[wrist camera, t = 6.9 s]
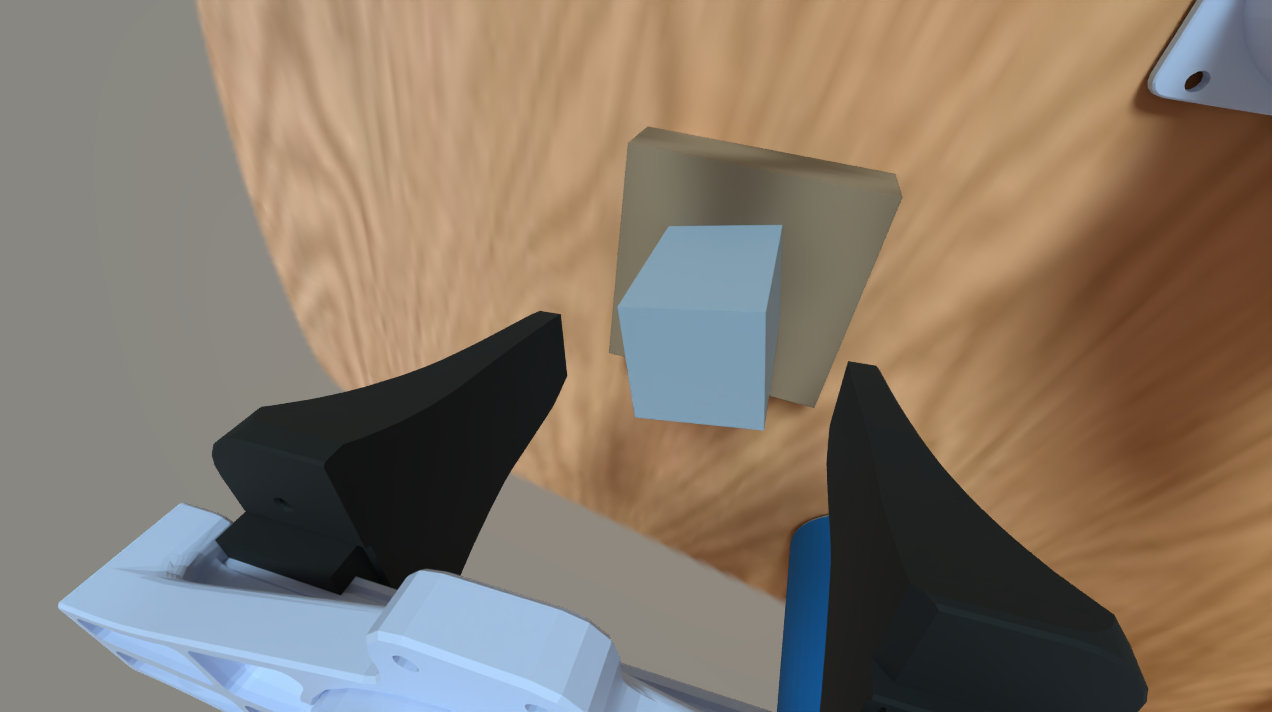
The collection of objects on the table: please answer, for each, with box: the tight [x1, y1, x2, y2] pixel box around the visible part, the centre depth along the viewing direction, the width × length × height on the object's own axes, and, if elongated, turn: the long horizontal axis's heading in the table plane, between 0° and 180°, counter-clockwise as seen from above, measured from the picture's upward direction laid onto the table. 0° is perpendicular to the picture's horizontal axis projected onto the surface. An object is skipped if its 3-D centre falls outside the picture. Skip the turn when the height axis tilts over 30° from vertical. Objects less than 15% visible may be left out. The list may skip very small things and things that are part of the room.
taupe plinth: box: [609, 127, 902, 408], centre depth 21 cm, size 9×9×3 cm
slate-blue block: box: [617, 225, 782, 430], centre depth 18 cm, size 4×4×6 cm
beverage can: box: [777, 514, 831, 712], centre depth 25 cm, size 6×6×12 cm
